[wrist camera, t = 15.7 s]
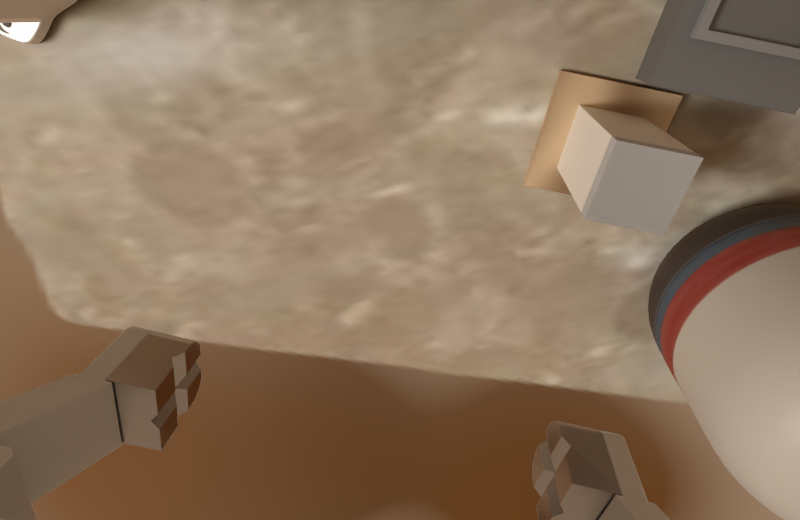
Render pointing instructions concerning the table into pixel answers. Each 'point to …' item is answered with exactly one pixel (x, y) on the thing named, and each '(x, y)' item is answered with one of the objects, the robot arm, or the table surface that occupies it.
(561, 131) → the coaster
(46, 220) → the table surface
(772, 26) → the power strip
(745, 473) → the vase
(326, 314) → the table surface
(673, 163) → the block
